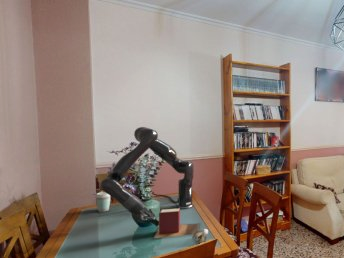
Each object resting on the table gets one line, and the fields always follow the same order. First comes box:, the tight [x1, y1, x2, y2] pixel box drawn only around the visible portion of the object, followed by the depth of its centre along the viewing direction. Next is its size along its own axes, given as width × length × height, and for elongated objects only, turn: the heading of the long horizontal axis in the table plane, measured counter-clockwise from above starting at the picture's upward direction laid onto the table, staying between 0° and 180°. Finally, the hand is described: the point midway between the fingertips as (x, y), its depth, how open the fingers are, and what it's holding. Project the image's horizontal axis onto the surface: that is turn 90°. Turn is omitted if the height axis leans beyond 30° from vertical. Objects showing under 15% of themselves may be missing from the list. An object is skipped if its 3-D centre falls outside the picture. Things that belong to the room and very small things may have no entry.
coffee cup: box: [95, 191, 111, 213], centre depth 172 cm, size 8×8×12 cm
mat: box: [153, 223, 200, 239], centre depth 144 cm, size 22×14×1 cm, turn 106°
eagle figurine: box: [191, 228, 209, 246], centre depth 132 cm, size 8×7×9 cm
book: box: [158, 207, 181, 234], centre depth 142 cm, size 10×5×12 cm, turn 106°
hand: (158, 224), depth 141 cm, fingers closed
